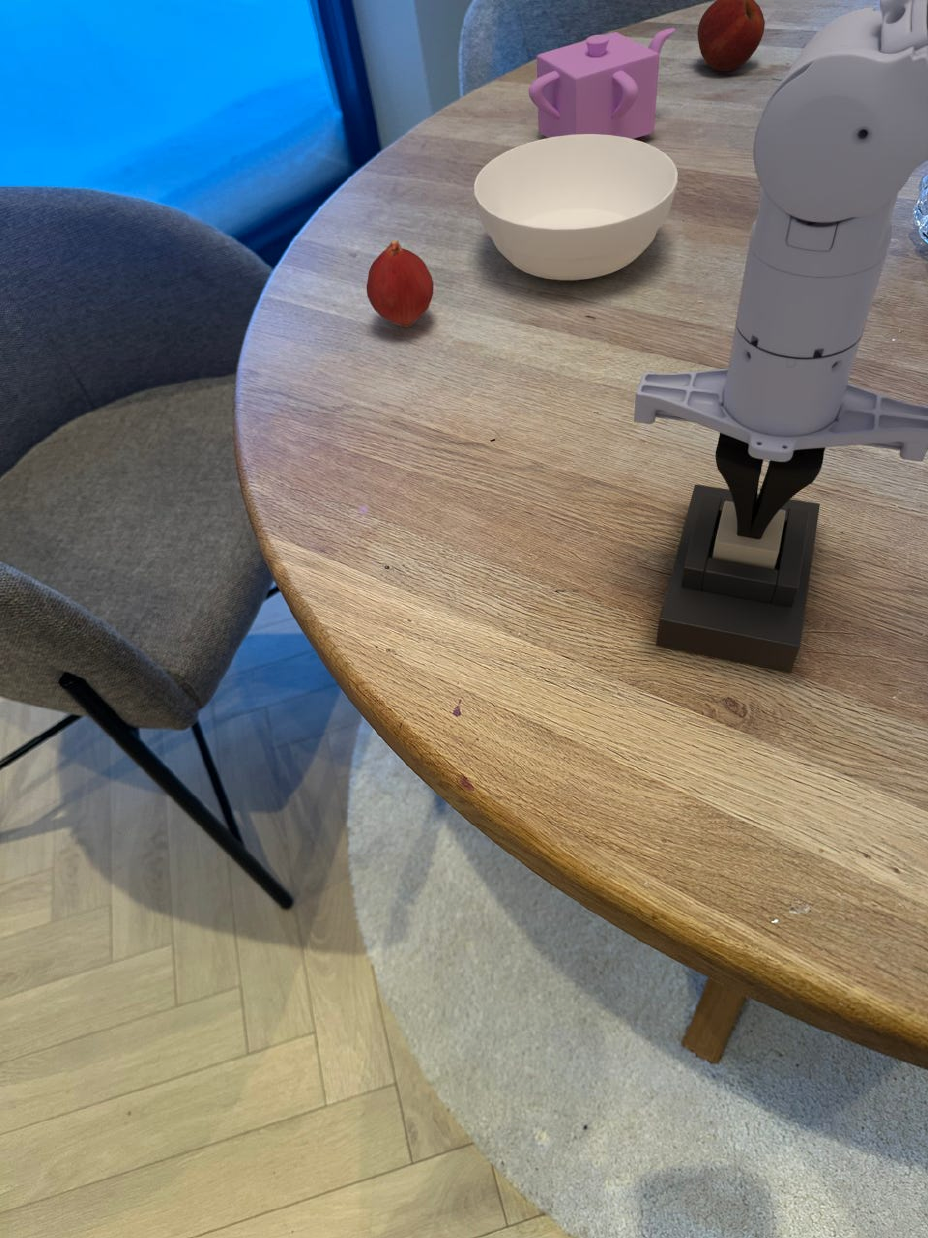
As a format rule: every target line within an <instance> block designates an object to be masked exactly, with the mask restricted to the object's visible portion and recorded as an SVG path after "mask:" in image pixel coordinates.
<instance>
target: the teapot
mask: <svg viewBox="0 0 928 1238" xmlns="http://www.w3.org/2000/svg"><path fill="white" fill-rule="evenodd" d="M674 32H676V28H674V27H671V28H667V29H663V30H661V31H659V32H657V33H656V34H655V35H654V36H653V38H652V39H651V41H650V42H649V44H648V47H647V46H646V45H643V44H641V43H639V42H637V41H635V40H633V39H631V38H629V37H627V36H625V35H623V34H621V33H619V32H617V31H614V32H611V33H606V34H593V35H591V36H588V37H587V38H586V39H585V40H582V41H580V42H576V43H572V44H569V45H566V46H562V47H559V48H555V49H552V50H548V51H545V52H542V53H538V54H537V55H536V79H534V80H533V81H532V83H530V85H529V87H528V89H527V90H528V91H527V92H528V97H529V99H530V100H531V102H532V103H533V105H534V106H535V107H536V108H537V124H538V125H537V127H538V129H537V130H538V132H539V133H540V134H542V135H544V136H545V137H546V138H551V137H557V136H566V135H578V134H599V135H612V136H619V137H626V138H630V139H634V140H635V139H637V138H640V137H643V136H647V135H649V134H653V133H655V125H656V111H657V110H656V109H657V97H658V83H659V72H660V71H659V69H660V59H661V58H660V57H661V55H660V54H661V51H662V49H663V47H664V45H665V43H666V42H667V39H669V37H670V36H671V35H672V34H673V33H674Z"/></svg>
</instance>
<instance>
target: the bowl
mask: <svg viewBox="0 0 928 1238" xmlns="http://www.w3.org/2000/svg"><path fill="white" fill-rule="evenodd" d="M678 180H679V173H678V170H677V167H676V164H675V162H674V161H673V160H672V159H671V158H670V157H669V156H668V154H666V153H665V152H663V151H662V150H660V149H659V148H657V147H656V146H653V145H651V144H649V143H646V142H643V141H640V140H638V139H635V138H634V139H630V138H626V137H619V136H612V135H599V134H578V135H566V136H557V137H551V138H548V137H546V138H542V139H537V140H534V141H531V142H530V141H529V142H528V143H524V144H520V145H518V146H516V147H513V148H510V149H509V150H507V151H504V152H503V153H501V154H499V155H498V156H496V157H494V158H493V159H492V160H489V162H488V163H487V164H486V165H485V166H484V167H482V169H481V170H480V171H479V173H478V174H477V176H476V178H475V180H474V183H473V184H474V185H473V197H474V201H475V205H476V208H477V212H478V215H479V219H480V222H481V225H482V228H483V229H484V231H485V233H486V234H487V235H488V236H489V237H490V238H491V239H492V242H493V244H494V246H495V247H496V250H498V252H499V253H500V254H501V255H502V256H503V257H504V258H505V259H507V261H509V262H510V263H511V264H512V266H514V267H515V268H517V269H518V270H520V271H522V272H524V273H525V274H526V273H527V274H529V275H532V276H534V277H538V278H542V279H547V280H556V281H579V280H588V279H593V278H598V277H603V276H607V275H609V274H612V273H615V272H617V271H619V270H621V269H623V268H625V267H627V266H628V265H629V264H631V263H633V262H634V261H635V260H636V259H637V258H638V257H639V256H640V255H642V254H643V252H645V250H646V249H647V248H648V247H649V246H650V245H651V243H652V242H653V241H654V240H655V237H656V235H657V233H658V231H659V229H660V228H662V226H663V225H664V224H665V222H666V221H667V218H668V216H669V214H670V211H671V208H672V205H673V202H674V201H673V200H674V197H675V194H676V190H677V187H678V185H679V183H678Z"/></svg>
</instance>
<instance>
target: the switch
mask: <svg viewBox="0 0 928 1238" xmlns="http://www.w3.org/2000/svg"><path fill="white" fill-rule="evenodd" d="M785 513H786V511H785V510H779V511H778V513H777V514H776V515H775V516H774V518H773V519H772V520H771V522H770V523H769V525H768V526H767V528H766V530H765V532H764V534H763V536H762V538H761V539H754V538H748V537H742V536H738V535H737V517H736V511H735V506H734V502H730V501H725V502H724V506H723V510H722V515H721V519H720V523H719V528H718V532H717V536H716V541H715V546H714V551H713V556H712V558H714V559H720V560H725V561H731V562H736V563H742V564H748V565H753V566H759V567H764V568H770V569H774V568H775V564H776V561H777V557H778V554H779V548H780V543H781V537H782V531H783V525H784V519H785ZM749 535H750V534H749Z"/></svg>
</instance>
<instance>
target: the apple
mask: <svg viewBox="0 0 928 1238" xmlns="http://www.w3.org/2000/svg"><path fill="white" fill-rule="evenodd" d="M764 17H765V16H764V13H763V11H762V8H761V7H760V5H759V4H758V3H757V2H756V0H715V1H714V2H713V3H712V4H710V6H708V7H707V9H706V10H705V11H704V13H703V14H702V15H701V17H700V20H699V22H698V25H697V33H696V34H697V41H698V43H697V44H698V48H699V51H700V55H701V57H702V60H704V63H706V64H707V66H708V67H710V68H712V69H714V70H716V71H718V72H731V71H734V70H737V69H739V68H740V67H741V66H743V65H745V64H746V62H748V61H749V59H750V58H751V57H752V56H753V55H754V53H755V52H756V50H757V49H758V47H759V45H760V43H761V42H762V38H763V36H764V33H765V28H766V27H765V26H766V21H765V18H764Z"/></svg>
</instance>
